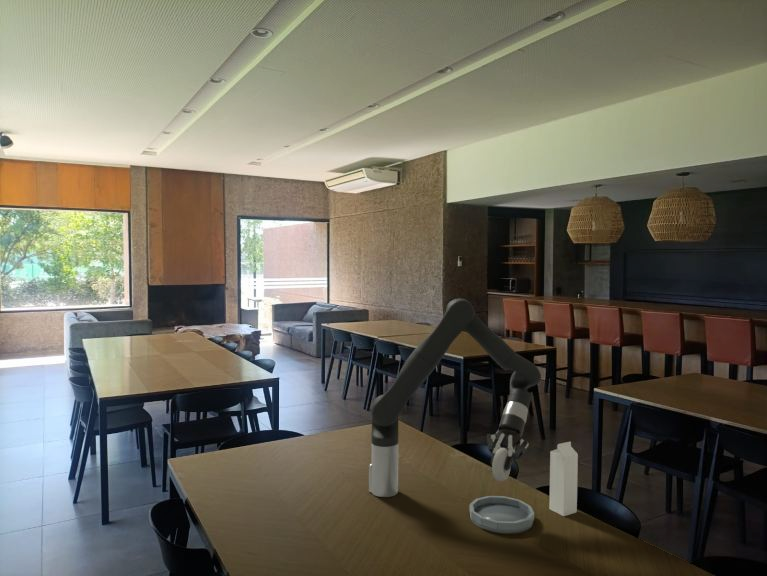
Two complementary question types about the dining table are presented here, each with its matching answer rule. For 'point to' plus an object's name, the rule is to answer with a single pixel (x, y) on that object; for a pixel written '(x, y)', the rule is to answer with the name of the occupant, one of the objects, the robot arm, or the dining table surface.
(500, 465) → the donut
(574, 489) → the milk
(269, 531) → the dining table surface
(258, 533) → the dining table surface
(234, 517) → the dining table surface
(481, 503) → the bowl
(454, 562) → the dining table surface
